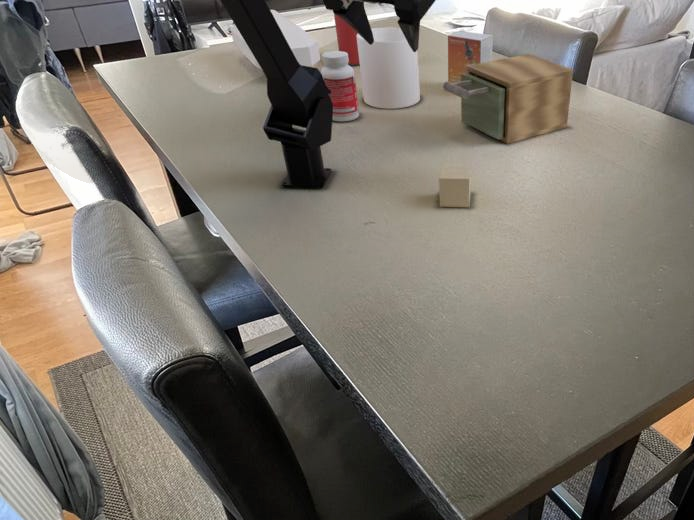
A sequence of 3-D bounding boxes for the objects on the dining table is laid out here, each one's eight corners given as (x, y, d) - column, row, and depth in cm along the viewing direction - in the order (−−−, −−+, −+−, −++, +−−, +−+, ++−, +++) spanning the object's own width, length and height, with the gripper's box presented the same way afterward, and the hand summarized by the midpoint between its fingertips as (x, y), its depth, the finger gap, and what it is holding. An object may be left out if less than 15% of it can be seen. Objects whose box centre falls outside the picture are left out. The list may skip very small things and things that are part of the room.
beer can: (337, 60, 143) (329, 2, 135) (363, 57, 145) (357, 0, 137) (344, 67, 139) (336, 8, 131) (371, 64, 141) (365, 6, 133)
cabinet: (507, 143, 105) (509, 83, 98) (466, 123, 113) (466, 65, 106) (566, 127, 112) (573, 69, 105) (524, 109, 119) (528, 53, 112)
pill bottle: (364, 118, 114) (357, 55, 106) (335, 124, 111) (325, 60, 104) (351, 109, 118) (343, 47, 110) (322, 115, 115) (312, 52, 107)
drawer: (472, 146, 102) (472, 95, 96) (436, 127, 108) (434, 78, 103) (554, 124, 110) (559, 76, 104) (516, 107, 117) (518, 61, 111)
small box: (447, 89, 127) (446, 35, 120) (460, 83, 131) (459, 29, 124) (480, 95, 125) (480, 40, 118) (491, 88, 128) (493, 34, 121)
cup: (367, 110, 117) (360, 43, 109) (360, 92, 125) (353, 28, 117) (425, 106, 119) (421, 40, 111) (414, 89, 128) (410, 26, 119)
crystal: (253, 37, 121) (222, 11, 138) (265, 87, 127) (234, 56, 145) (321, 29, 126) (283, 5, 144) (328, 78, 133) (291, 49, 150)
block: (469, 207, 87) (469, 178, 84) (439, 206, 87) (438, 178, 84) (470, 194, 90) (470, 166, 87) (442, 193, 90) (441, 165, 87)
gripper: (439, -81, 86) (462, 23, 100) (339, -88, 92) (373, 10, 106) (402, -35, 82) (430, 66, 96) (301, -46, 89) (341, 50, 103)
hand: (393, 46), depth 100 cm, fingers open, 9 cm apart
